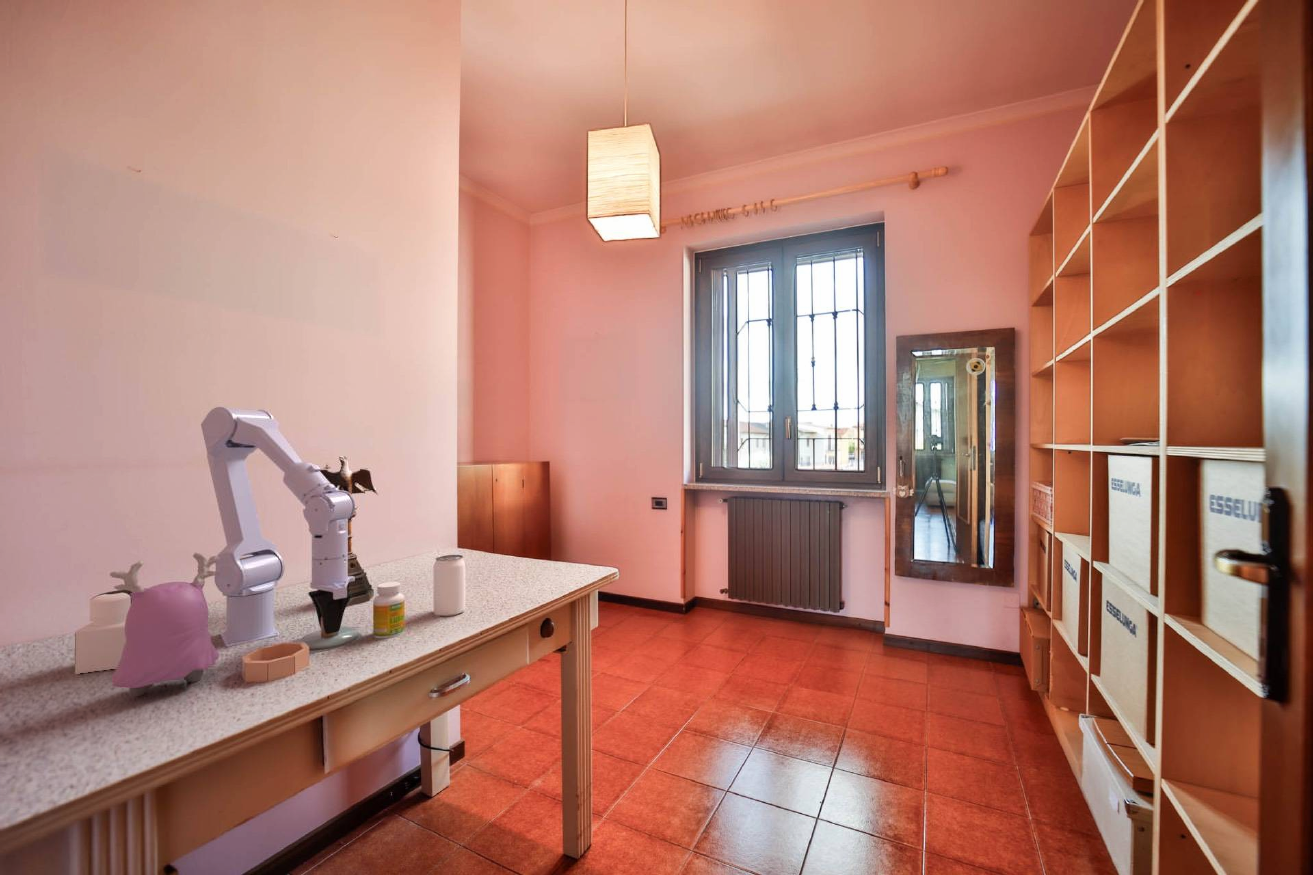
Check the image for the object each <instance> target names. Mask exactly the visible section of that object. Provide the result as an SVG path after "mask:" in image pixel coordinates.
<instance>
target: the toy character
mask: <svg viewBox="0 0 1313 875" xmlns="http://www.w3.org/2000/svg"><path fill="white" fill-rule="evenodd" d="M192 557H193V558H194V559H195V560H196V562H197V575H195V577H194V579H193V581H192V582H191V583H190V582H186V581H172V582H164V583H160V584H157V585H153V586H150V587H148V588H146V587H145V588H144V587H142V585H141V584H140V583H139V579H138V573H139V571H140V569H141V568H142V567H143V565H144V561H143V560H141V559H140V560H138V561H137V562H135V563H133V564H132V565H131V566H130V569H129V570H128V571H127V572H126V571H124V570H123V571H121V570H120V571H112V572H110V573H109V576H110V577H111V578H115V579H121V580H123V582H124V584H117V585H114V586H113V588H114V589H115V590H116V591H118V590H129V591H131V592H132V593H131V594H130V595H131V599H132V603H131V606H130V608H129V610H128V613H127V617H126V622H125V637H126V642H125V645H124V648H123V652H122V656H121V660H120V662H119V664H118V666H117V669H115V672H114V674H113V676H112V680H111V683H112V685H111V687H114V688H129V691H130V693H131V694H132V696H134V697H136V698H137V697H138V698H139V697H141V696H142V695H144V694H145V693H146V692H147V691H148V690H149V689H150V688H152V686H154V684H158V683H163V682H169V681H176V680H181V679H183V680H185V681H187V682H188V683H196V682H197V683H198V682H199V681H201V680H202V677H203V674H204V672H205V670H207V669H210V668H211V667H212V666H214V665H215V664H216V661H217V659H219V657H220V654H219V652H218V650H217V649H216V648H215V646H214V644H213V642H212V638H211V635H210V632H209V631H210V630H209V628H208V622H209V608H208V603H207V600H206V597H205V593H204V591H203V589H204V586H205V583H206V581H205V579H207V578H209V577H213V576H214V577H215V575H217V574H219V573H220V571H216V570H210V567H212V565H213V564H215V563H216V562H217V561H218V560H219V557H218V556H217V555H212V556H210V557H209V558H208V559H207V558H206V557H204V555H203V554H202V553H200V552H194V554H193V555H192Z"/></svg>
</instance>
